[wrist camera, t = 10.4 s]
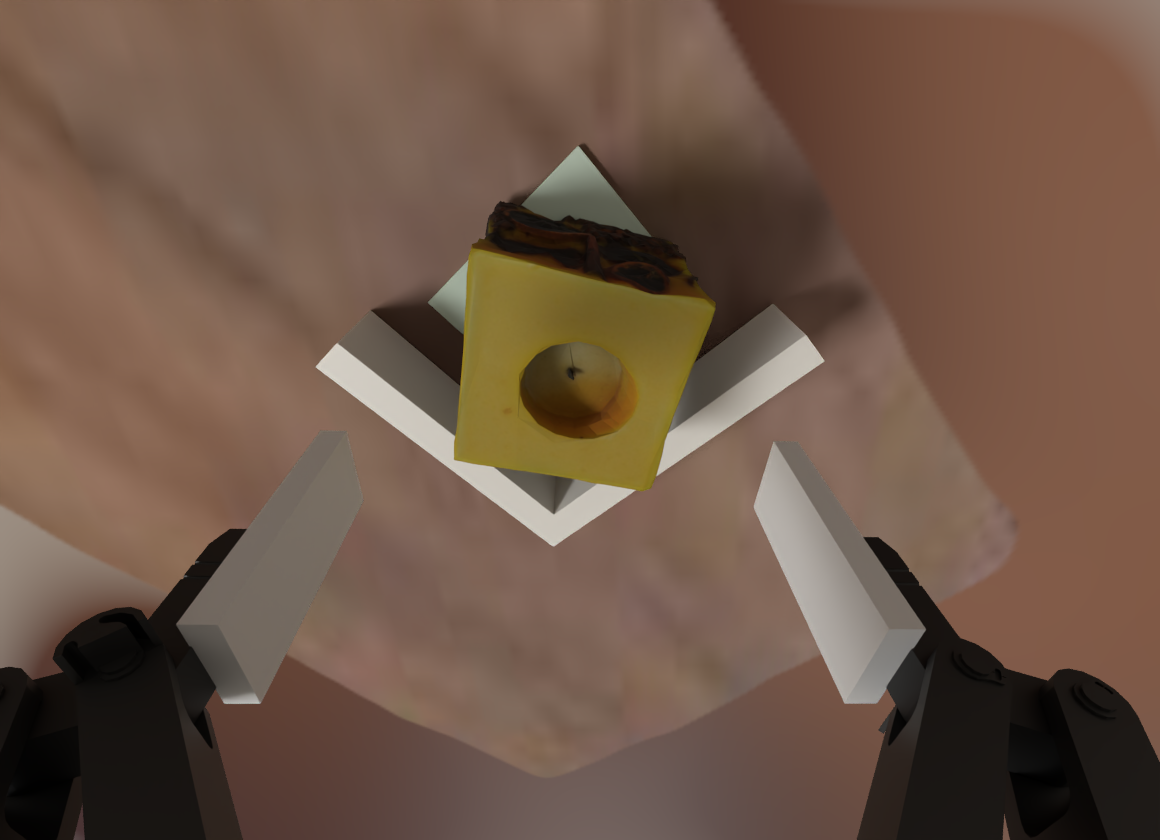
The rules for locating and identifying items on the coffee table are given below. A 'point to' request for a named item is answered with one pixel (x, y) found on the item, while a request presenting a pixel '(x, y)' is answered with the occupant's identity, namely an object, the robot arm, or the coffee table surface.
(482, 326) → the candle
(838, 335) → the coffee table surface
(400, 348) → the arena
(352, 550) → the coffee table surface
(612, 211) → the pad
